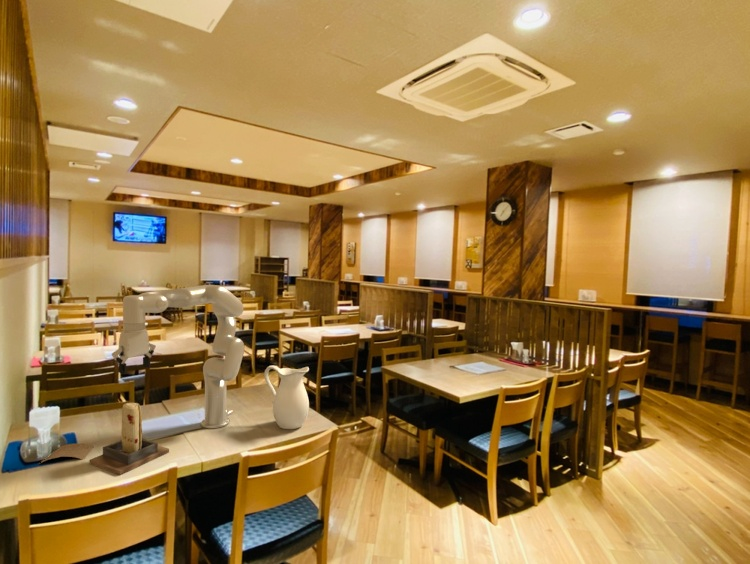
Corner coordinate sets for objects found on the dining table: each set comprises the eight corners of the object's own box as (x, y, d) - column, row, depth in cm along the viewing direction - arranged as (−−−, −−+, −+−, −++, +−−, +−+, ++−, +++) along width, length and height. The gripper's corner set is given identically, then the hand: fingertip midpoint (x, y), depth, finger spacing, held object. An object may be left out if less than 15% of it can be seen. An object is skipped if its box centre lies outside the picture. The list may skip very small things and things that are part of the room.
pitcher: (315, 422, 198) (316, 366, 197) (294, 435, 183) (295, 374, 182) (276, 413, 208) (277, 360, 207) (253, 424, 193) (254, 367, 192)
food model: (118, 451, 159) (118, 402, 158) (137, 446, 164) (137, 398, 163) (125, 461, 152) (124, 409, 151) (144, 455, 157) (144, 405, 156)
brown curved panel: (95, 448, 166) (95, 440, 166) (86, 460, 156) (86, 453, 156) (48, 453, 161) (48, 445, 161) (35, 467, 150) (35, 459, 150)
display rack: (139, 442, 171) (139, 431, 171) (169, 452, 163) (169, 440, 163) (89, 463, 153) (89, 450, 152) (120, 475, 145) (120, 461, 145)
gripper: (148, 323, 167) (148, 364, 168) (105, 329, 151) (106, 374, 152) (160, 324, 164) (161, 366, 165) (118, 331, 148) (119, 377, 149)
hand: (135, 370), depth 159 cm, fingers open, 9 cm apart
